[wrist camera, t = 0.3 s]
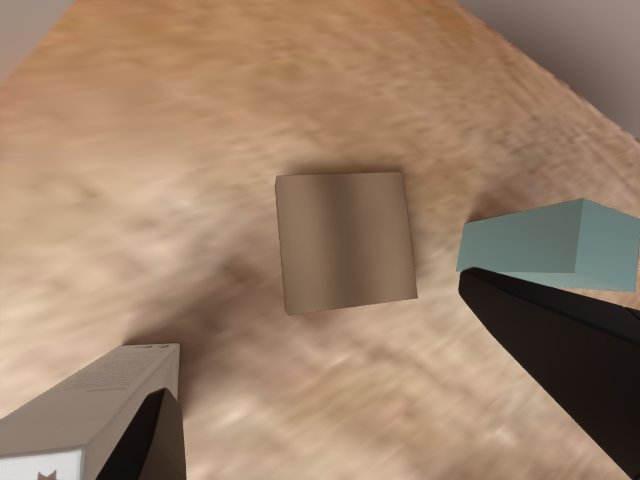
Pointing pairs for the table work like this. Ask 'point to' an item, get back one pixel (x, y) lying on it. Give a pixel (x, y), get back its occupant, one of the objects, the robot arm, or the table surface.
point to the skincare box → (84, 415)
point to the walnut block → (344, 240)
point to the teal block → (557, 246)
